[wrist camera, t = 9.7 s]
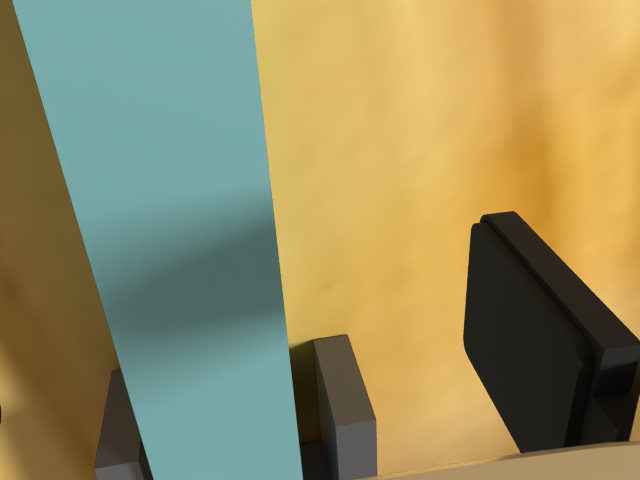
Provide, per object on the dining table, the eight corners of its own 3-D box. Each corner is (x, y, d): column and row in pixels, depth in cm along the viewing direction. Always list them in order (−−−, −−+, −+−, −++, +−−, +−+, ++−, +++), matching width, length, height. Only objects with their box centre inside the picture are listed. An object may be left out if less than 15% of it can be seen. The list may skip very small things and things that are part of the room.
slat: (191, -406, 12) (187, -578, 7) (288, 410, 23) (308, 530, 19) (-24, -403, 11) (-161, -586, 7) (181, 429, 22) (176, 555, 18)
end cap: (347, 334, 21) (376, 419, 18) (353, 456, 24) (378, 549, 21) (112, 371, 20) (93, 469, 17) (149, 493, 23) (140, 596, 20)
